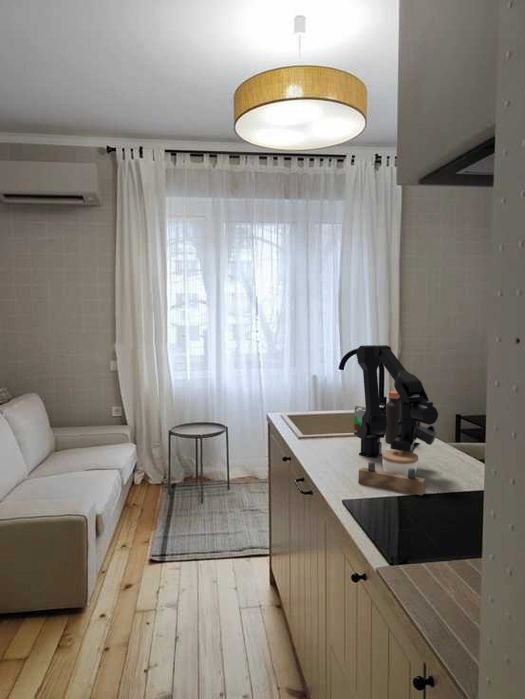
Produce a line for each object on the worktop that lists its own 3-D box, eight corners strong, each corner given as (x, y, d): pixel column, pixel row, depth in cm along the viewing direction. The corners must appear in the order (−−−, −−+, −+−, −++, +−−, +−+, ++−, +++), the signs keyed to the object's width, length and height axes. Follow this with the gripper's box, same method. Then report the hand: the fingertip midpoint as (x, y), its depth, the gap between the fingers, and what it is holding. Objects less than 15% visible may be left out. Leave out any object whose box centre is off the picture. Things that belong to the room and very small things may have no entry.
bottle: (381, 441, 200) (382, 391, 198) (395, 439, 203) (396, 390, 201) (392, 445, 194) (394, 394, 192) (406, 443, 197) (407, 392, 195)
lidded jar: (375, 480, 154) (376, 450, 153) (390, 471, 163) (390, 442, 162) (409, 488, 148) (410, 457, 147) (422, 478, 156) (423, 448, 155)
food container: (368, 435, 208) (369, 412, 208) (353, 434, 210) (354, 411, 209) (368, 428, 221) (369, 406, 220) (354, 428, 222) (354, 405, 221)
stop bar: (358, 482, 152) (358, 461, 152) (362, 479, 155) (362, 459, 154) (421, 495, 142) (422, 473, 142) (424, 492, 145) (425, 470, 144)
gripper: (427, 427, 149) (426, 478, 150) (441, 415, 165) (440, 461, 166) (390, 422, 155) (389, 472, 156) (407, 411, 170) (406, 456, 172)
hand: (407, 465), depth 162 cm, fingers closed
